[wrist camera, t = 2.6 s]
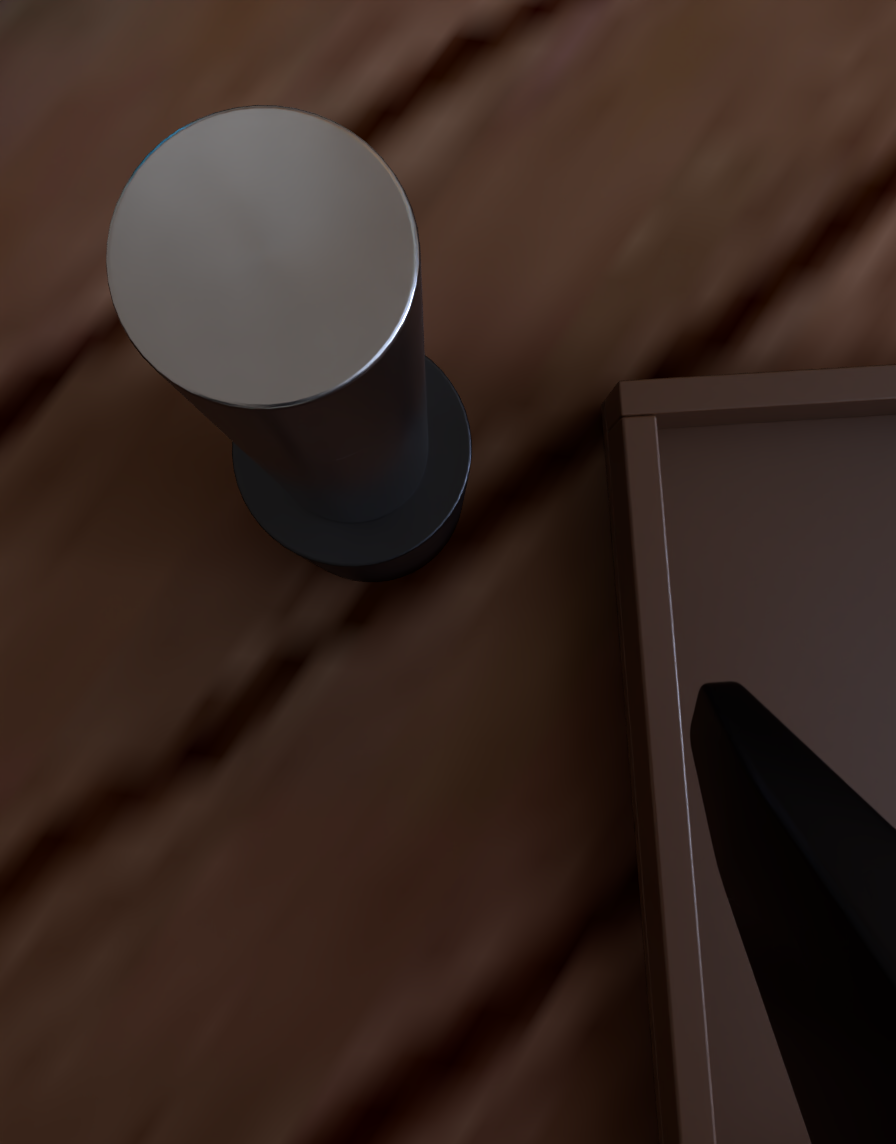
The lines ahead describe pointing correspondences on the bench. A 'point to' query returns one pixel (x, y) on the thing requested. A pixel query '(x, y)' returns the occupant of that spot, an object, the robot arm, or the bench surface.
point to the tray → (744, 674)
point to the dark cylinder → (297, 331)
